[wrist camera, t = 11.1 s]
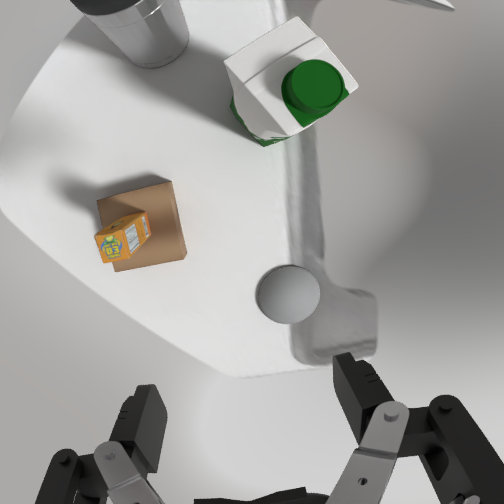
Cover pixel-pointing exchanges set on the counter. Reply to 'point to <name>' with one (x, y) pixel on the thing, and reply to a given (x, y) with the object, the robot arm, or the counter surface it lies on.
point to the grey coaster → (289, 294)
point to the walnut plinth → (160, 221)
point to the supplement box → (123, 237)
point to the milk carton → (285, 82)
